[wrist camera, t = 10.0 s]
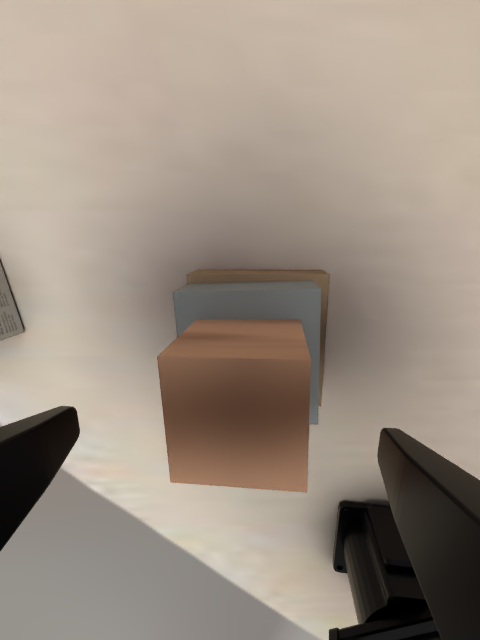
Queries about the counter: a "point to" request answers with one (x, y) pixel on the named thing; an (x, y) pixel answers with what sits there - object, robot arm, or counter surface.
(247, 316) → the slate top slab
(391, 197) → the counter surface
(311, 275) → the walnut base slab
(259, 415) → the terracotta cube
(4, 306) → the coffee box
